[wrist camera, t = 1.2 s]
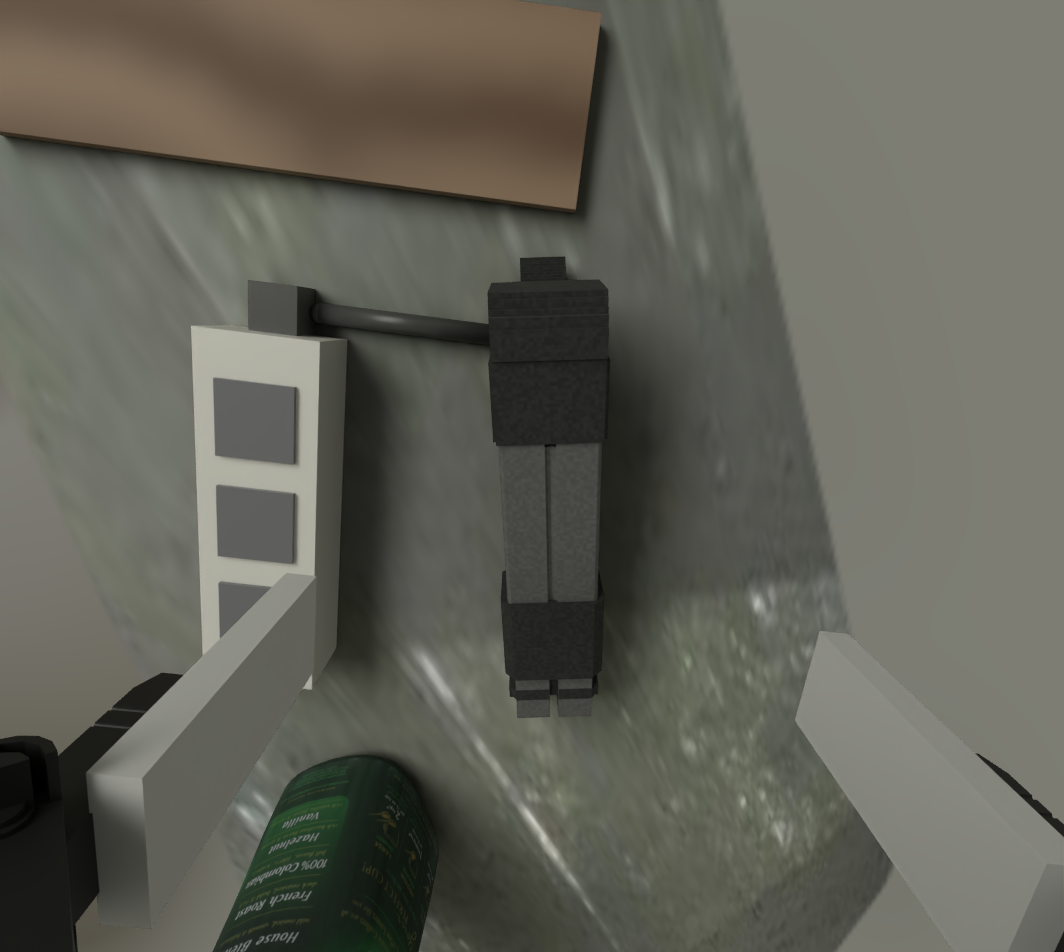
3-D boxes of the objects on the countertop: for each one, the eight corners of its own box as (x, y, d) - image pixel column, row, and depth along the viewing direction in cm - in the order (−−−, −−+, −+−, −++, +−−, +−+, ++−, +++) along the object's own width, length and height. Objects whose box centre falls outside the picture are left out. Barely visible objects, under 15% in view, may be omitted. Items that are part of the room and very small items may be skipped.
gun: (593, 242, 24) (630, 322, 16) (582, 572, 36) (600, 718, 27) (489, 245, 24) (474, 327, 16) (511, 574, 36) (508, 721, 27)
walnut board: (-22, -69, 21) (-42, -84, 21) (599, 23, 22) (601, 12, 22) (2, 135, 23) (-16, 129, 22) (574, 213, 24) (575, 209, 23)
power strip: (235, 278, 25) (179, 270, 21) (505, 313, 25) (500, 311, 21) (240, 638, 29) (195, 686, 25) (468, 661, 30) (459, 713, 26)
